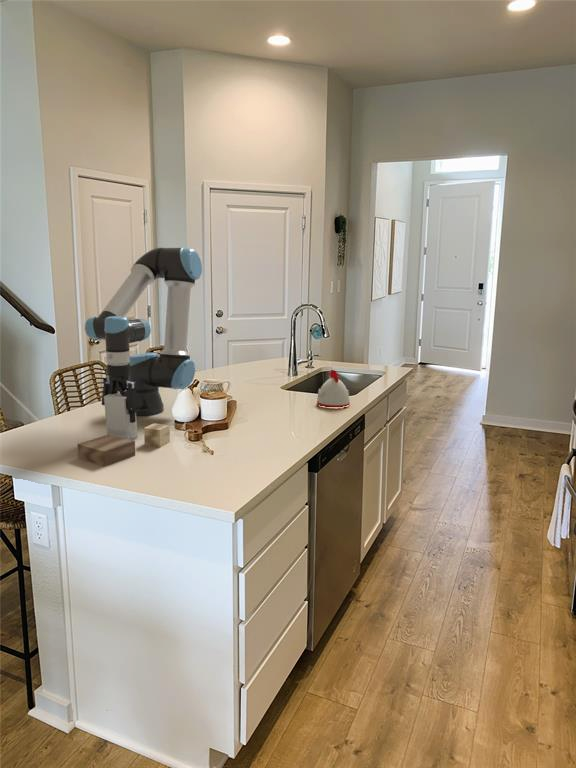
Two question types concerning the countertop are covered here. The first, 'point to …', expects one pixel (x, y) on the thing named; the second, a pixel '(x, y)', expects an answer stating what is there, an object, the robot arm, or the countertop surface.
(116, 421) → the skincare box
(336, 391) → the kitchen timer
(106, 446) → the walnut pedestal
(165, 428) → the oak cube
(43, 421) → the countertop surface
